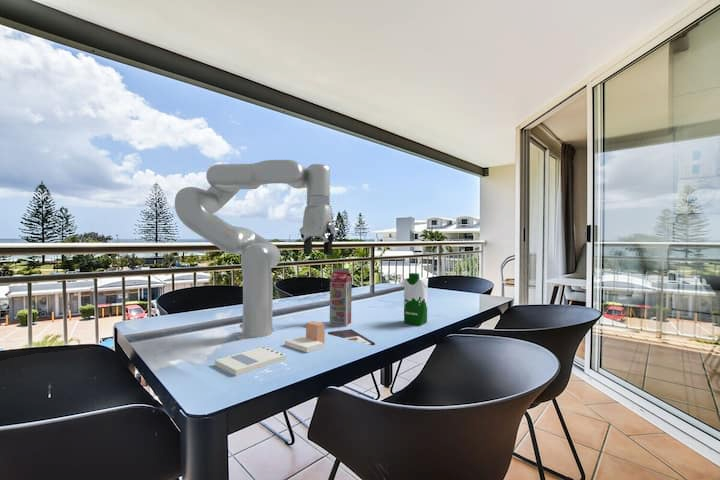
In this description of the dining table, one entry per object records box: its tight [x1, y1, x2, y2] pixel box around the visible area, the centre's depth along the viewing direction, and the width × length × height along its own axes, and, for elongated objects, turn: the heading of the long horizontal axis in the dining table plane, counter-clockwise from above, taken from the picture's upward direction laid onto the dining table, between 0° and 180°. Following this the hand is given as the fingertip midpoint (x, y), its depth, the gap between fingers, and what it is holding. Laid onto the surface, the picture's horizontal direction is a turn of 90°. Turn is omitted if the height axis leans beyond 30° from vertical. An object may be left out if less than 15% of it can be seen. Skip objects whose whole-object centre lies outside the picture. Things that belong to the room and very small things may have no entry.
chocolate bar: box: [327, 328, 376, 346], centre depth 111 cm, size 9×1×18 cm
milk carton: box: [403, 272, 429, 327], centre depth 134 cm, size 9×9×20 cm
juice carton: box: [329, 267, 353, 328], centre depth 130 cm, size 7×7×22 cm
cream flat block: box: [214, 346, 287, 377], centre depth 84 cm, size 10×14×2 cm
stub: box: [284, 320, 326, 353], centre depth 99 cm, size 10×9×6 cm
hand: (317, 254), depth 110 cm, fingers open, 9 cm apart
